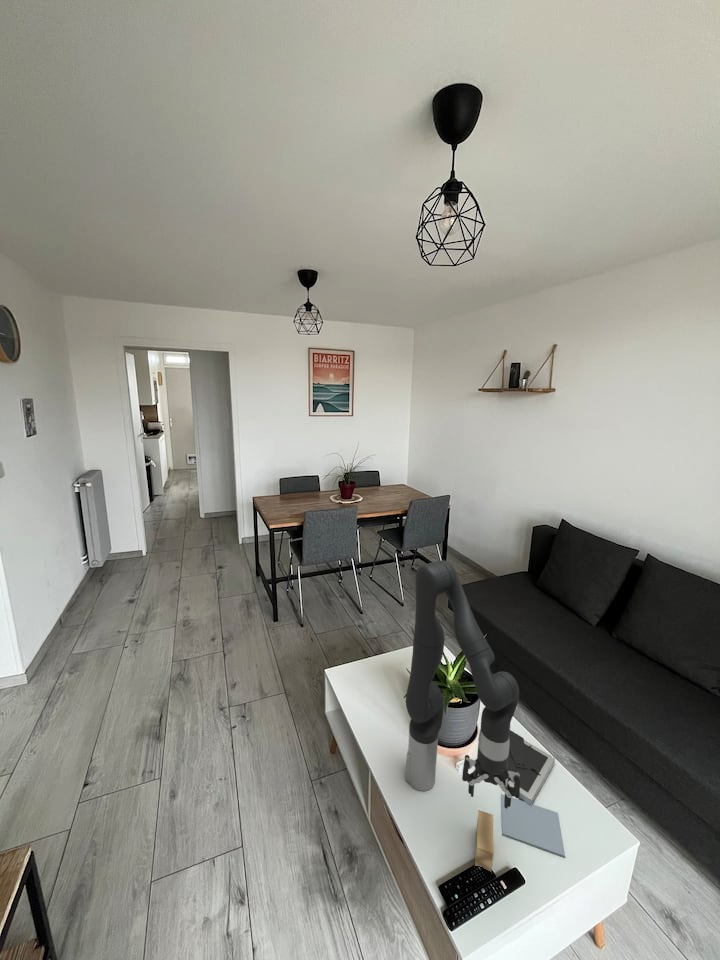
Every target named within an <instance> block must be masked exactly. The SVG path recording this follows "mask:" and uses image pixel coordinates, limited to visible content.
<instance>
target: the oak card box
mask: <svg viewBox="0 0 720 960" xmlns="http://www.w3.org/2000/svg"><path fill="white" fill-rule="evenodd" d="M477 811H478V812H477V822H476V832H475V833H476V835H475V836H476V837H475V838H476V839H475V857H474V858H475V859H474V861H475V863H474V864H475V865H474V867H475V866H480V867H483V868H484V869H486V870H488V871H490V872H491V873H492V869H493V860H494V814H492V813H489V812H486V811H483V810H480V809H478V810H477Z"/></svg>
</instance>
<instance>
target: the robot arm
mask: <svg viewBox="0 0 720 960" xmlns="http://www.w3.org/2000/svg"><path fill="white" fill-rule="evenodd" d="M414 581H415V583H414V585H415V587H414V589H415V619H414V631H413V640H412V641H413V642H412V643H413V644H412V655H411V656H412V657H411V665H410V672H409V673H410V674H409V679H408V685H407V690H406V694H405V706H406V710H407V713H408V715H409V717H410V718H411V719H410V721H409V725H408V744H407V745H408V748H407V752H406V760H405V761H406V763H405V777H404V778H405V780H404V781H405V782H407V783H408V784H409V785H411V787H413V789H415V790H417V791H422V792H426V791H429V790H431V789H433V787H434V785H435V783H436V773H437V772H436V770H437V758H438V755H437V754H438V743H439V741H438V739H439V733H440V730H441V729H442V725H443V724H442V723H443V717H444V706H445V704H444V702H445V701H444V696H443V693H442V690H440V687H439V686H438V685H437V684H436V683H435V682H433V679H434V677H435V675H436V674H437V672H438V669H439V667H440V665H441V662H442V661H443V656H444V648H445V640H446V639H445V638H446V637H445V631H444V628H443V627H442V623H441V622H440V620H439V619H438V617H437V614H436V606H437V605H436V604H437V600H438V599H437V598H438V596H439V595H443V594H445V595H446V597H447V598H448V601H449V602H450V604H451V607H452V613H453V621H454V633H455V637H456V641H457V643H458V645H459V647H460V650H461V651H462V653H463V656H464V658H465V659H466V661H467V663H468V665H469V668H470V672H471V676H472V680H473V684H474V687H475V691H476V694H477V696H478V699H479V700H480V702H481V703H482V705H483V706H484V707H483V709H482V713H481V719H480V729H479V733H478V739H477V740H478V741H477V742H478V745H477V756H476V758H475V759H473V758H471V757H470V755H468V754H465V755H464V760H463V761H464V762H463V766H462V767H463V768H462V776H461V780H462V781H463V782H467V783H468V786H467V787H468V790H467V792H468V794H470V797H472V798H474V795H475V794H474V792H475V785H476V784H480V783H481V782H482V781H483V782H484V783H488V784H489V783H490V784H492V785H494V786H497V785H498V786H499V788H500V789H501V791H502V792H504V795H505V798H504V808H508V807H510V805H511V797H512V798H514V797H515V799H520V798H519V797H520V775H519V771H518V770H515V771H514V772H512V771H508V768H507V767H508V756H509V746H510V742H509V734H510V730H511V722H512V719H513V717H514V715H515V711H516V710H517V709H516V708H517V706H518V703H519V699H520V688H519V685H518V682H517V680H516V678H515V677H514V676H513V675H512V674H511V673H509V672H508V671H498V672H495V673H494V674H492V673H491V668H490V667H491V665H492V664H493V662H495V659H496V658H495V655H494V654H495V653H494V651H493V650H492V649H491V646H490V644H489V643H488V641H487V639H486V637H485V636H484V634H483V632H482V631H481V628H480V627H479V624H478V622H477V620H476V618H475V615H474V613H473V611H472V609H471V606H470V603H469V601H468V597H467V596H466V593H465V589H464V588H463V585H462V583H461V579H460V578H459V575H458V573H457V571H456V569H455V567H454V566H453V565H452V564H451V562H449V561H447V560H445V559H441V560H437V561H433V562H428V563H425V564H422V565H420V566H419V567H418V569H417V570H416V574H415V580H414ZM473 767H474V768H475V769H474V770H473V771H472V772H471V773H469V770H471V769H472V768H473ZM508 777H510V778H511V780H512V781H513V783H514V787H511V786H510V785H509V783H508V782H507V778H508Z"/></svg>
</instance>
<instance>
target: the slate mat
mask: <svg viewBox="0 0 720 960" xmlns="http://www.w3.org/2000/svg"><path fill="white" fill-rule="evenodd" d="M500 797H501V798H500V799H501V801H500V802H501V803H500V804H501V806H500V807H501V832H502V833H501V836H503V837H505V838H508V839H511V840H514V841H517V842H520V843H522V844H525V845H528V846H531V847H534V848H537V849H540V850H542V851H545V852H548V853H550V854H553V855H556V856H559V857H562V858H566V854H565V853H566V852H565V846H564V842H563V841H564V840H563V835H562V829H561V823H560V816H559V812H557V811H554V810H551V809H548V808H545V807H542V806H539V805H535V804H534V803H532V805H529V804H528V803H526V802H525V801H523V800H522V799H519V798H514V797H511V805H510V807H508V808H504V798H505V794H501V796H500Z"/></svg>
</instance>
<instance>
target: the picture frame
mask: <svg viewBox="0 0 720 960" xmlns="http://www.w3.org/2000/svg"><path fill="white" fill-rule="evenodd" d="M509 742H510V746H509V756H508V767H507V768H508V771H512V772H514V771H515V770H518V771H519V775H520V797H519V798H518V799H520V800H521V801H524V802H526V803H528V804H529V805H532V804H534V801H535V800H536V798H537V796H538V794H539V793H540V790H542V787H543V785H544V783H545V782H546V779H547V778H548V776H549V774H550V773H551V770H552V769H553V767H554V766H555V762H556V757H555V756H553V755H551V754H549V753H548V752H545V751H544V750H542V749H540V748H539V747H537V746H535V745H534V744H532V743H530V742H528V741H527V740H525V739H524V737H522V736H521V735H519V734H518V733H516V732H515V731H513V730H511V729H510V734H509ZM552 757H553V758H552ZM507 782H508V783H509V785H510V786H511V787H514V783H513V781H512V780H511V778H510V777H508V778H507Z"/></svg>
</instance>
